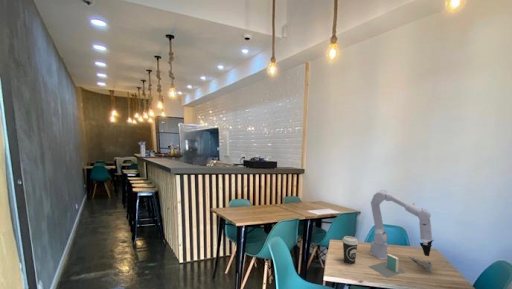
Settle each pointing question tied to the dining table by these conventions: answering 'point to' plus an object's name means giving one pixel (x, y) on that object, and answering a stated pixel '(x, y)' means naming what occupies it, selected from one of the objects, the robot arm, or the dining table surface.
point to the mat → (385, 270)
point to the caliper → (423, 263)
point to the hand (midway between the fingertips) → (427, 253)
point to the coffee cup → (349, 249)
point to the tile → (392, 262)
